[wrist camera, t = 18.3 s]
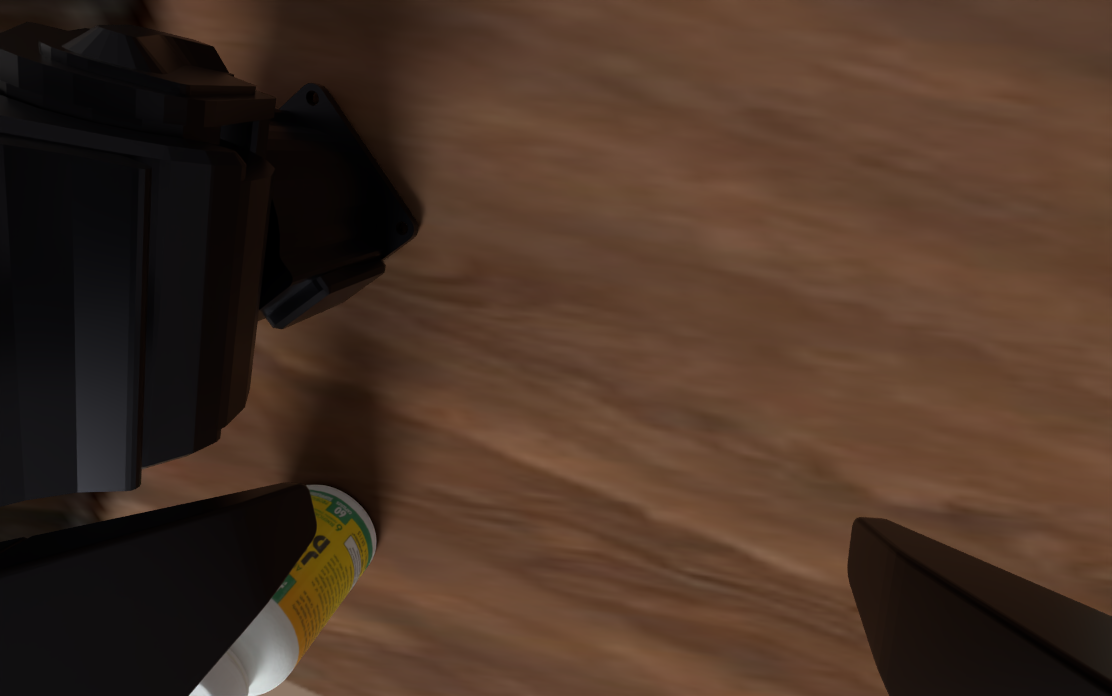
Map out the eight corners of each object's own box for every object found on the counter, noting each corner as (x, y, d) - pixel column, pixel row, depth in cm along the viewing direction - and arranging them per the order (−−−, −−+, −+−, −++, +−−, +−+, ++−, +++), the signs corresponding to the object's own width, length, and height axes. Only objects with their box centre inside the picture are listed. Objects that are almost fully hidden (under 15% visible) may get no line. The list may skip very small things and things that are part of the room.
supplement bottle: (286, 560, 29) (113, 740, 20) (276, 470, 27) (82, 625, 18) (382, 581, 28) (247, 780, 19) (379, 491, 26) (229, 663, 17)
